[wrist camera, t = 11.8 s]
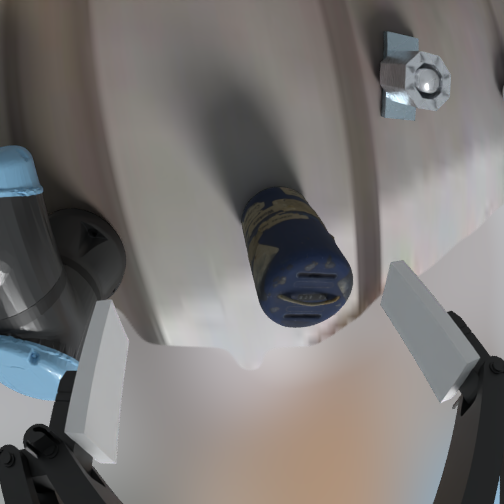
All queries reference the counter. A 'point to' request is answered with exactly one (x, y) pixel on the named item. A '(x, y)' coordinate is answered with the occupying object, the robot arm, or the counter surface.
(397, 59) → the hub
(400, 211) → the counter surface
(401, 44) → the shaft stand
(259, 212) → the canister
